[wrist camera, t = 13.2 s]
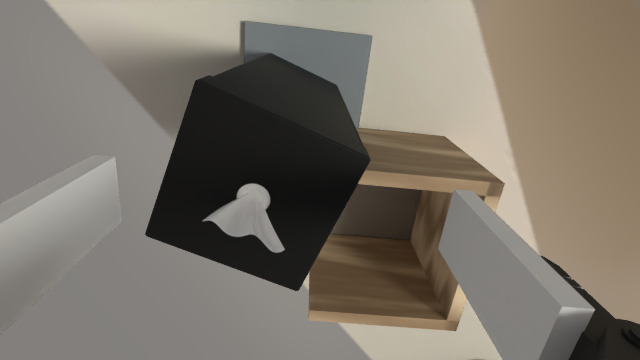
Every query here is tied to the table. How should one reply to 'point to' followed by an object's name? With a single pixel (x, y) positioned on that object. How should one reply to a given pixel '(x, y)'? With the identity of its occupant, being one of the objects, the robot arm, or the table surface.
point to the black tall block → (260, 170)
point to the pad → (316, 56)
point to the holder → (401, 255)
